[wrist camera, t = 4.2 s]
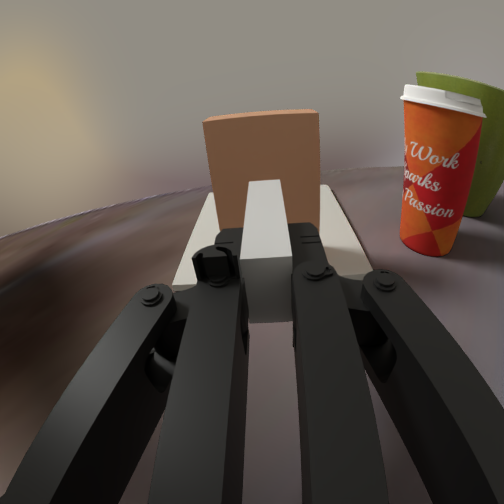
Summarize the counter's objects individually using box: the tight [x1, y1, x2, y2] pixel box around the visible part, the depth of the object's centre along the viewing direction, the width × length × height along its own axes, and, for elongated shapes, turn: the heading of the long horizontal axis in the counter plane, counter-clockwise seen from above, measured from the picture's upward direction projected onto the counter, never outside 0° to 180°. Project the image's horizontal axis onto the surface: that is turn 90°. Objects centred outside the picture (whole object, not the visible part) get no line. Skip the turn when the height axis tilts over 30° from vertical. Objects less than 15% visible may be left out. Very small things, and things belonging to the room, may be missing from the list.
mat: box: [172, 185, 373, 291], centre depth 28 cm, size 15×18×1 cm
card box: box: [202, 109, 320, 234], centre depth 20 cm, size 7×3×11 cm, turn 88°
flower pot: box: [416, 72, 504, 217], centre depth 25 cm, size 15×15×16 cm
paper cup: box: [400, 84, 487, 257], centre depth 20 cm, size 8×8×14 cm
